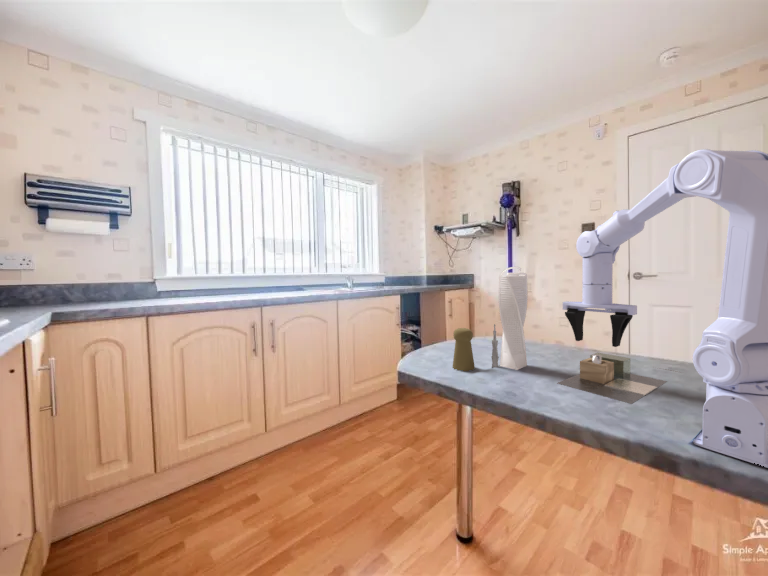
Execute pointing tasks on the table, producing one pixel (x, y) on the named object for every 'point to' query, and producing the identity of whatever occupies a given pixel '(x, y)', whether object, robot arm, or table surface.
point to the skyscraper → (511, 320)
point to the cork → (463, 350)
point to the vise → (616, 381)
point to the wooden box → (597, 371)
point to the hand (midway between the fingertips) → (596, 343)
